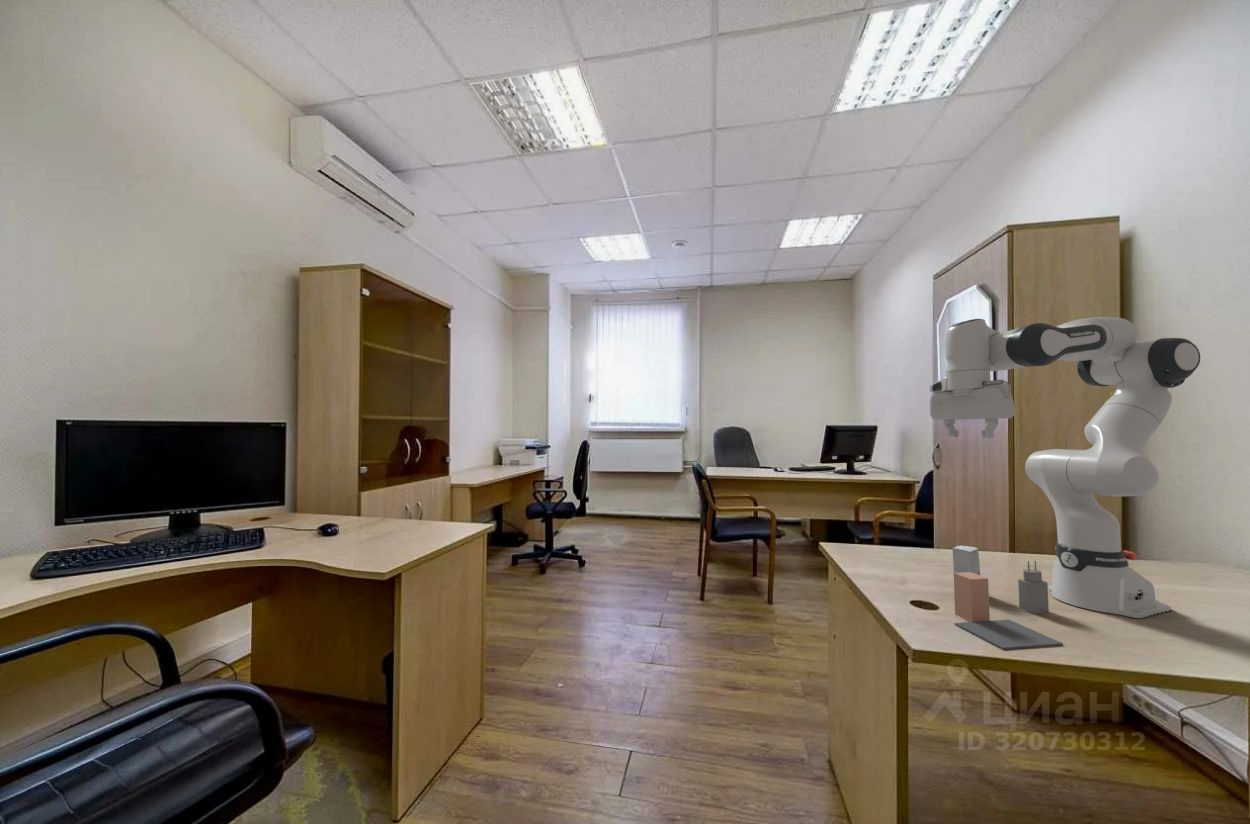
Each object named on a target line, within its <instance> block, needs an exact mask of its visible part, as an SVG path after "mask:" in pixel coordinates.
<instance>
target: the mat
mask: <svg viewBox="0 0 1250 824" xmlns="http://www.w3.org/2000/svg"><path fill="white" fill-rule="evenodd" d="M956 625H957V626H956ZM954 626H956V627H958V626H959V627H958V628H960V629H962V630H964V631H966V632H968V633H969V632H970V633H969V634H971V635H973V636H976V637H977V638H980V639H981V640H983V641H986V642H987V643H989V644H991V645H992V646H995V647H996V648H998V649H1000V650H1004V651H1005V650H1018V649H1028V648H1042V647H1043V648H1044V647H1045V648H1046V647H1056V646H1057V647H1058V646H1064V645H1063V642H1061V641H1059V640H1056V639H1054V638H1052V637H1050V636H1047V635H1045V634H1043V633H1041V632H1039V631H1036V630H1034V629H1031V628H1029V627H1027V626H1025V625H1022V624H1020V623H1018V622H1017V621H1016V622H1015V621H1013V620H1012V619H998V620H990V621H979V622H969V621H965V622H955V623H954Z"/></svg>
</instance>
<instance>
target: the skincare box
mask: <svg viewBox="0 0 1250 824" xmlns="http://www.w3.org/2000/svg"><path fill="white" fill-rule="evenodd" d="M979 550H980V549H979V548H978V547H975V546H974V547H973V546H968V545H957V546H954V547H953V548H952V564H953V566H952V567H953V574H954V573H961V572H972V573H974V574H977V575H980V576H981V569H980V568H981V566H980V565H981V564H980V553H979Z"/></svg>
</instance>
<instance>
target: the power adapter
mask: <svg viewBox="0 0 1250 824" xmlns="http://www.w3.org/2000/svg"><path fill="white" fill-rule="evenodd" d="M1033 564H1034V569H1033V568H1030V561H1029V560H1027V569H1022V575H1023V576H1022V578H1018V579H1017V580H1018V581H1017V582H1018V583H1017V584H1018V585H1017V587H1018V609H1019V608H1020V609H1019V610H1021V609H1023V610H1025V611H1024V612H1026V611H1027V612H1026V613H1028V612H1030V613H1029V614H1045V612H1048V613H1049V612H1050V611H1049V610H1050V609H1049V585H1048V581H1046V580H1042V579H1043V577H1042V571H1041V570H1039V569H1037V560H1034V563H1033ZM1023 610H1022V611H1023Z"/></svg>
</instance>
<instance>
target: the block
mask: <svg viewBox="0 0 1250 824" xmlns="http://www.w3.org/2000/svg"><path fill="white" fill-rule="evenodd" d="M953 591H954V592H953V593H954V615H955V614H956V615H955V616H957V615H958V616H957V617H959V616H960V617H959V618H961V617H962V618H961V619H963V618H964V619H963V620H965V619H966V620H965V621H967V620H968V621H967V622H969V621H970V622H979V621H991V618H990V594H989V593H990V592H989V591H990V590H989V578H988V577H986V576H983V575H981V574H980V575H977V574H974V573H972V572H961V573H954V572H953Z"/></svg>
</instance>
